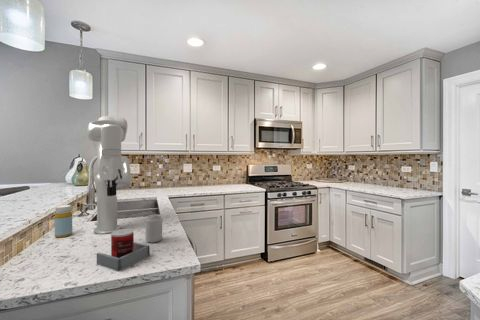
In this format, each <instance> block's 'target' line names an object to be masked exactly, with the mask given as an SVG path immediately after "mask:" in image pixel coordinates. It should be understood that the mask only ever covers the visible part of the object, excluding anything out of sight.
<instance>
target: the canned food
mask: <svg viewBox="0 0 480 320" xmlns="http://www.w3.org/2000/svg"><path fill="white" fill-rule="evenodd" d="M110 234H111V235H110V236H111V237H110V240H111V241H110V243H111V244H110V246H111V250H110V251H111V255H110V256H114V257H117V258H120V257H122V256H125V255H127V254H129V253H131V252H134V242H135V241H134V237H135V235H134V230H133V229H132V228H120V229H119V230H116V231H113V232H112V233H110Z"/></svg>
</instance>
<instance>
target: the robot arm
mask: <svg viewBox="0 0 480 320" xmlns="http://www.w3.org/2000/svg"><path fill="white" fill-rule="evenodd" d="M86 131H87V132H86V133H87V137H88V140H90V141H91V142H92V145H93V147H94V149H95V151H96V163H97V165H96V166H97V169H98V173H97V174H96V175H95V176H94V185H95V191H96V222H94V225H95V226H96V228H94V229H93V233H94V234H96V235H97V234H98V235H104V234H105V235H106V234H111V233H112V232H113V231H116V230H119V229H122V227H121V225H118V196H117V190H121V189H128V188H130V187H131V185H132V174H131V173H132V172H131V168H130V166H131V165H130V160H129V158H128V157H127V156H125V155H122V142H124V141H125V140H126V137H127V132H128V122H127V120H126V118H125V117H122V116H113V115H103V116H100V117H99V118H98V119H97V120H94V121H91V122H89V123H88V126H87V130H86Z"/></svg>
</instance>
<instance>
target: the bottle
mask: <svg viewBox="0 0 480 320" xmlns="http://www.w3.org/2000/svg"><path fill="white" fill-rule="evenodd" d="M72 234H73V213H72V205H71V204H62V205H57V206H55V215H54V237H55V238H57V239H62V238H67V237H70V236H71V235H72Z"/></svg>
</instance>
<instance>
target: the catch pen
mask: <svg viewBox="0 0 480 320" xmlns="http://www.w3.org/2000/svg"><path fill="white" fill-rule="evenodd" d="M150 255H151V254H150V245H147V244H144V243H139V242H135V241H134V252H131V253H129V254H127V255H125V256H122V257H120V258H117V257H114V256H111V255H110V254H106V253H103V252H97V253H96V265H99V266H102V267H105V268H108V269H111V270H113V271H114V270H115V271H117V272H119V271H121V270H123V269H125V268H127V267H129V266H131V265H133V264H135V263H137V262H139V261H141V260H143V259H146V258H148V257H149V256H150Z"/></svg>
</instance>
